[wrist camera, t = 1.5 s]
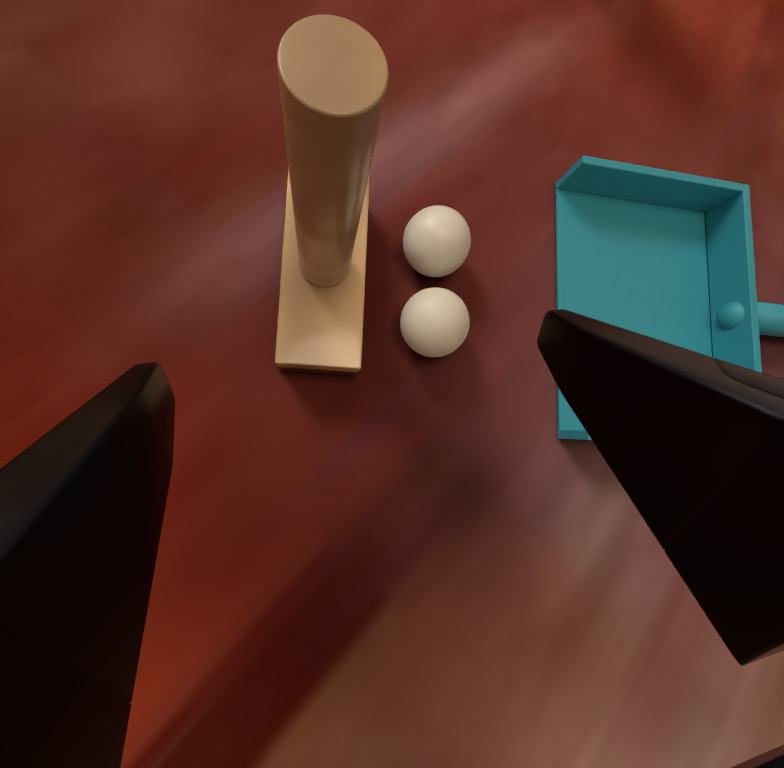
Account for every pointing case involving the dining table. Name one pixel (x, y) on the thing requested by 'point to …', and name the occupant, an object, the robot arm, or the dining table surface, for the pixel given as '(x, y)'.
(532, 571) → the dining table surface
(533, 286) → the dining table surface
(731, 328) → the dustpan
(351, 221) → the brush
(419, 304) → the beige rounded piece
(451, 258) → the cream oval piece
